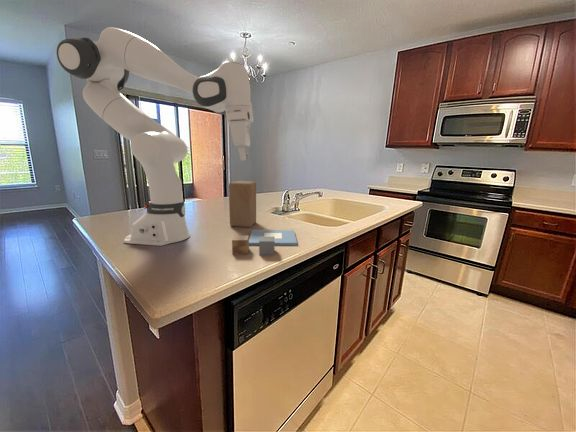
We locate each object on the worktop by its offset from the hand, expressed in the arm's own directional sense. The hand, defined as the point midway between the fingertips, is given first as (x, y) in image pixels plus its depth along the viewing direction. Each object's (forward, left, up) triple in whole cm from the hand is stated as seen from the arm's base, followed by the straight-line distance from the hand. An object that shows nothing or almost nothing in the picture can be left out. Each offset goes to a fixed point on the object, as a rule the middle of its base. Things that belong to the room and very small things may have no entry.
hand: (244, 159), depth 88 cm
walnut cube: (-1, -8, -31) cm, 32 cm away
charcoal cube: (+8, -9, -31) cm, 33 cm away
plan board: (+10, +6, -31) cm, 33 cm away
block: (-4, +26, -31) cm, 41 cm away
